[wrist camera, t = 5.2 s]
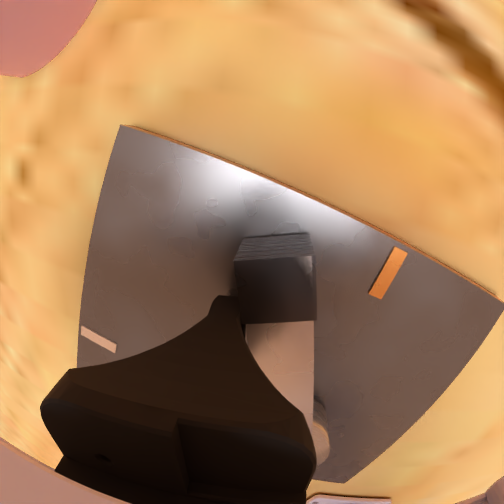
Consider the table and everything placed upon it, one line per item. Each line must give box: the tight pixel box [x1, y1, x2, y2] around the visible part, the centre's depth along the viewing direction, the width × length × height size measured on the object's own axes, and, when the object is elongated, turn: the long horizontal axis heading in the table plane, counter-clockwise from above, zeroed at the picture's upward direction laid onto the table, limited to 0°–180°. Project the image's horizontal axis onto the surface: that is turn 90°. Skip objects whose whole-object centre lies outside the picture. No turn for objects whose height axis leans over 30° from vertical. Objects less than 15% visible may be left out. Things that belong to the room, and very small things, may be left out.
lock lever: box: [233, 234, 330, 466], centre depth 11 cm, size 11×4×2 cm, turn 6°
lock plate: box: [77, 125, 504, 483], centre depth 13 cm, size 15×18×1 cm
